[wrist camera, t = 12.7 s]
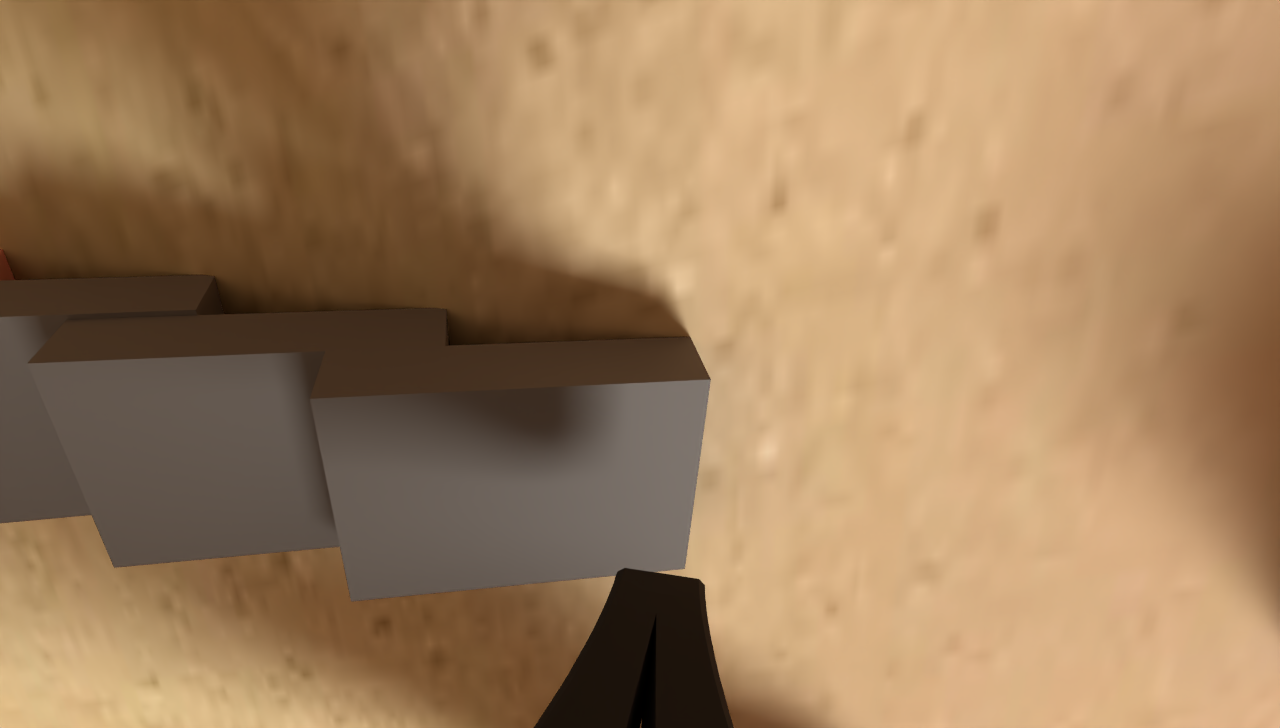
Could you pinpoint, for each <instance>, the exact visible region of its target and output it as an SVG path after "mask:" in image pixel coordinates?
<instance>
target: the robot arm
mask: <svg viewBox="0 0 1280 728" xmlns="http://www.w3.org/2000/svg"><path fill="white" fill-rule="evenodd" d="M641 719H642V725H641V728H734V727H733V724H732V720H731V717H730V714H729V710H728V706H727V703H726V699H725V695H724V692H723V688H722V684H721V681H720V677H719V673H718V669H717V664H716V660H715V656H714V651H713V646H712V641H711V636H710V630H709V624H708V618H707V611H706V601H705V585H704V584H703V583H702V582H701V581H700V580H699V579H695V578H688V577H682V576H675V575H669V574H662V573H656V572H649V571H643V570H636V569H630V568H623V569H621V570H619V571H618V572H617V574H616V577H615V581H614V584H613V587H612V589H611V592H610V594H609V597H608V599H607V602H606V604H605V606H604V608H603V611H602V613H601V615H600V617H599V619H598V621H597V623H596V625H595V627H594V629H593V631H592V633H591V635H590V637H589V639H588V640H587V642H586V644H585V646H584V648H583V649H582V651H581V653H580V655H579V656H578V658H577V660H576V662H575V663H574V665H573V667H572V669H571V670H570V672H569V674H568V676H567V677H566V679H565V681H564V682H563V684H562V686H561V687H560V689H559V690H558V692H557V693H556V695H555V696H554V698H553V699H552V701H551V702H550V704H549V705H548V707H547V709H546V710H545V712H544V713H543V715H542V716H541V718H540V719H539V721H538V722H537V724H536V725H535V727H534V728H640V724H641Z"/></svg>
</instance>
